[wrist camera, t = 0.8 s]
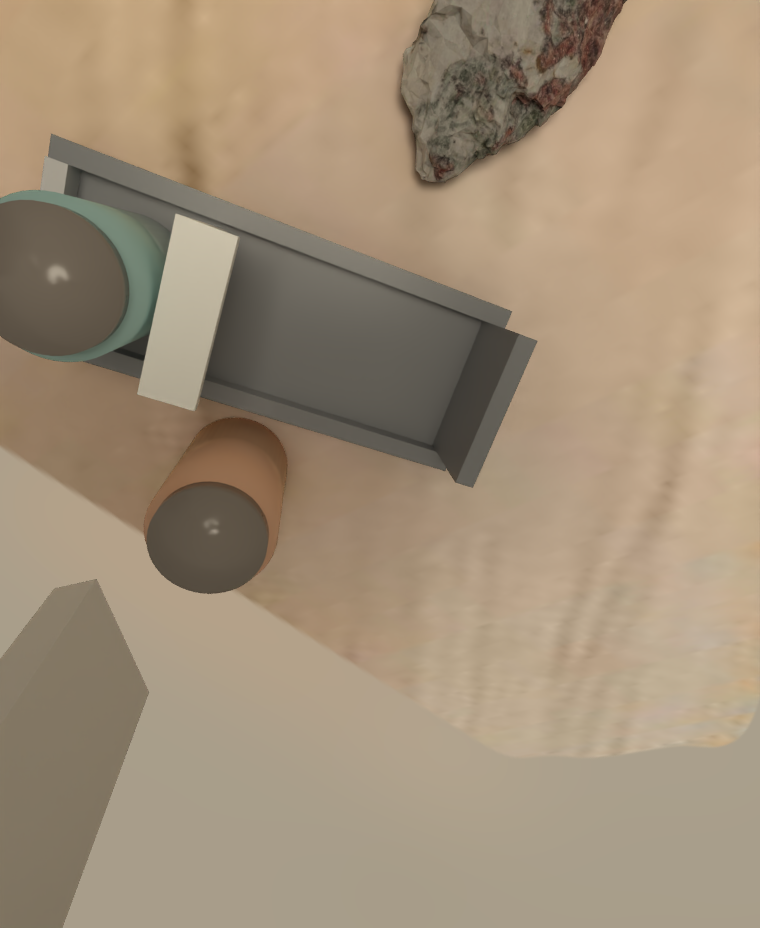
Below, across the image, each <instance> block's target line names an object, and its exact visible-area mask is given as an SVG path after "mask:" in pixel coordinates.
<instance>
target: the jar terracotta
mask: <svg viewBox="0 0 760 928" xmlns="http://www.w3.org/2000/svg"><path fill="white" fill-rule="evenodd" d="M286 474H287V457H286V453H285V450H284V448H283V446H282V444H281V442H280V440H279V439H278V438H277V436H276V435H275V434H274V433H273V432H272V431H271V430H269V429H268V428H267V427H265V426H264V425H262V424H260V423H258V422H256V421H253V420H250V419H246V418H238V417H235V418H224V419H221V420H217V421H215V422H213V423H211V424H209V425H207V426H206V427H205V428H203V429H202V430H201V431H200V432H199V433H198V434H197V435H196V437H195V438H194V440H193V441H192V443H191V444H190V446H189V447H188V449H187V450H186V451H185V453H184V454H183V456H182V457H181V459H180V460H179V462H178V463H177V465H176V466H175V468H174V469H173V471H172V472H171V473H170V475H169V476H168V478H167V479H166V481H165V482H164V484H163V485H162V487H161V488H160V490H159V491H158V493H157V494H156V496H155V497H154V498H153V500H152V501H151V503H150V505H149V507H148V509H147V512H146V515H145V520H144V536H145V541H146V544H147V549H148V552H149V556H150V558H151V560H152V562H153V564H154V565H155V567H156V568H157V569H158V571H159V572H160V573H161V574H162V575H163V576H164V577H165V578H166V579H168V580H169V581H171V582H172V583H173V584H175V585H177V586H179V587H181V588H184V589H186V590H189V591H193V592H198V593H207V594H211V593H221V592H226V591H230V590H233V589H236V588H238V587H240V586H242V585H244V584H245V583H246V582H248V581H249V580H250V579H252V578H253V577H254V576H256V575H257V574H258V573H259V572H261V571H262V570H263V569H264V568H265V566H266V565H267V564H268V563H269V561H270V559H271V558H272V556H273V554H274V551H275V548H276V544H277V539H278V532H279V524H280V517H281V510H282V503H283V496H284V488H285V481H286Z"/></svg>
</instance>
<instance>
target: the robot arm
mask: <svg viewBox="0 0 760 928" xmlns="http://www.w3.org/2000/svg"><path fill="white" fill-rule="evenodd" d="M148 694H149V691H148V689H147V687H146V685H145V683H144V680H143V678H142V676H141V674H140V672H139V669H138V667H137V666H136V663H135V661H134V659H133V657H132V654H131V652H130V650H129V648H128V646H127V644H126V641H125V639H124V637H123V635H122V633H121V631H120V629H119V626H118V624H117V622H116V620H115V618H114V616H113V613H112V611H111V609H110V607H109V605H108V603H107V601H106V598H105V597H104V594H103V592H102V590H101V588H100V585H99V583H98V581H97V579H95V580H91V581H86V582H82V583H77V584H73V585H69V586H64V587H59V588H55V589H54V590H53V591H52V592H51V594H50V595H49V596H48V598H47V599H46V600H45V601H44V603H43V604H42V606H41V607H40V608H39V609H38V611H37V612H36V613H35V615H34V616H33V617H32V619H31V620H30V621H29V622H28V624H27V625H26V626H25V628H24V629H23V630H22V632H21V633H20V634H19V635H18V637H17V638H16V640H15V641H14V642H13V643H12V645H11V646H10V647H9V649H8V650H7V651H6V652H5V654H4V655H3V657H2V658H1V659H0V928H62V927H63V925H64V922H65V919H66V917H67V914H68V911H69V909H70V906H71V903H72V900H73V897H74V895H75V892H76V889H77V887H78V884H79V881H80V879H81V876H82V873H83V870H84V868H85V865H86V862H87V860H88V857H89V854H90V851H91V849H92V846H93V843H94V841H95V838H96V835H97V832H98V830H99V827H100V824H101V821H102V818H103V816H104V813H105V810H106V808H107V805H108V802H109V800H110V797H111V794H112V792H113V789H114V786H115V783H116V781H117V778H118V775H119V773H120V770H121V767H122V764H123V762H124V759H125V756H126V754H127V751H128V748H129V745H130V742H131V740H132V737H133V734H134V732H135V729H136V726H137V723H138V721H139V718H140V715H141V712H142V710H143V707H144V705H145V702H146V699H147V696H148Z"/></svg>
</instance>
